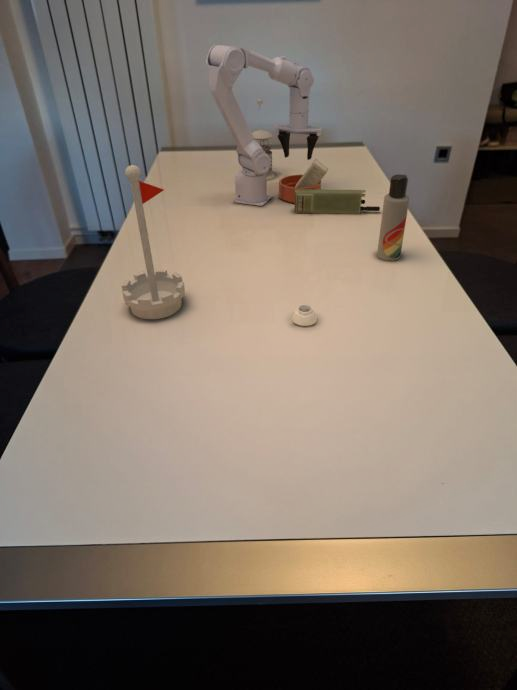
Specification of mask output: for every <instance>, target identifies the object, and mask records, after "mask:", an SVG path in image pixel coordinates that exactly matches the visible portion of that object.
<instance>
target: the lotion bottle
mask: <svg viewBox="0 0 517 690" xmlns="http://www.w3.org/2000/svg"><path fill="white" fill-rule="evenodd" d="M408 182H409V178H408V176H407V174H394V175H393V176H391V177H390V183H389V190H388V193H387V194H385V195H384V196H383V197H384V198H383V204H382V211H381V212H382V213H381V219H380V220H381V221H380V228H379V236H378V243H377V252H376V255H377V257H378V258H379V259H380V260H383V261H387V262H391V261H392V262H393V261H397V260H399V259H400V257H401V255H402V249H403V243H404V236H405V230H406V229H405V228H406V223H407V217H408V209H409V204H410V197H409V196H408V194H406V193H407V188H408Z"/></svg>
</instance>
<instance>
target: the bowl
mask: <svg viewBox="0 0 517 690" xmlns="http://www.w3.org/2000/svg"><path fill="white" fill-rule="evenodd" d="M303 175H304V174H291V175H286V176H284V177H282V178H280V179H279V180H278V197H279V198H280V199H281V200H283V201H285V202H287V203H290V204H291V203H293V204H295V189H306V190H322V189H321V188H322V179H321V180H320V182H319V183H318V184H317V185H315V186H312V187H307V188H295V186H296V184H297V183H298V181H299V180H300V179H301V177H302V176H303Z"/></svg>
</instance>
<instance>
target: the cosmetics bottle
mask: <svg viewBox="0 0 517 690" xmlns="http://www.w3.org/2000/svg"><path fill="white" fill-rule="evenodd" d="M328 171H329V167H327V165H325V164H324V163H322V162H321V161H320V160H319V159H317V158H315V159H314V160H313V161H312V163H311V164H310V165H309V167H308V168H307V169H306V171H305V172H304V173H303V174H302V175H303V176H302V177H301V179H300V180H299V181H298V183H297V184H296V186H295V188H307V187H312V186H315V185H317V184H318V183H319V182H320V180H321V181H322V179H323V178H324V177H325V175H326V174H327V173H328Z"/></svg>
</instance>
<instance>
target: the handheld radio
mask: <svg viewBox="0 0 517 690" xmlns="http://www.w3.org/2000/svg"><path fill="white" fill-rule="evenodd" d="M365 197H366V189H321V190H306V189H295V203H294V213H295V214H341V215H342V214H345V215H346V214H347V215H349V214H351V215H352V214H353V215H359V214H364V211H366V212H380V211H381V210H380V209H381V207H380V206H370V205H369V206H367V205H366V206H362V205H365V204H366V200H365V199H362V198H365Z"/></svg>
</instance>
